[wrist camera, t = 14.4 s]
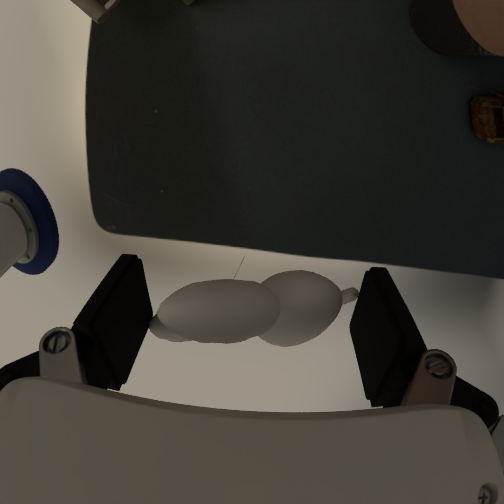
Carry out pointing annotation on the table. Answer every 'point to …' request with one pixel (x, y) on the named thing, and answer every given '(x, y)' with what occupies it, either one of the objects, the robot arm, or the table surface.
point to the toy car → (488, 117)
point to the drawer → (102, 8)
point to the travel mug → (460, 26)
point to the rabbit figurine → (252, 309)
